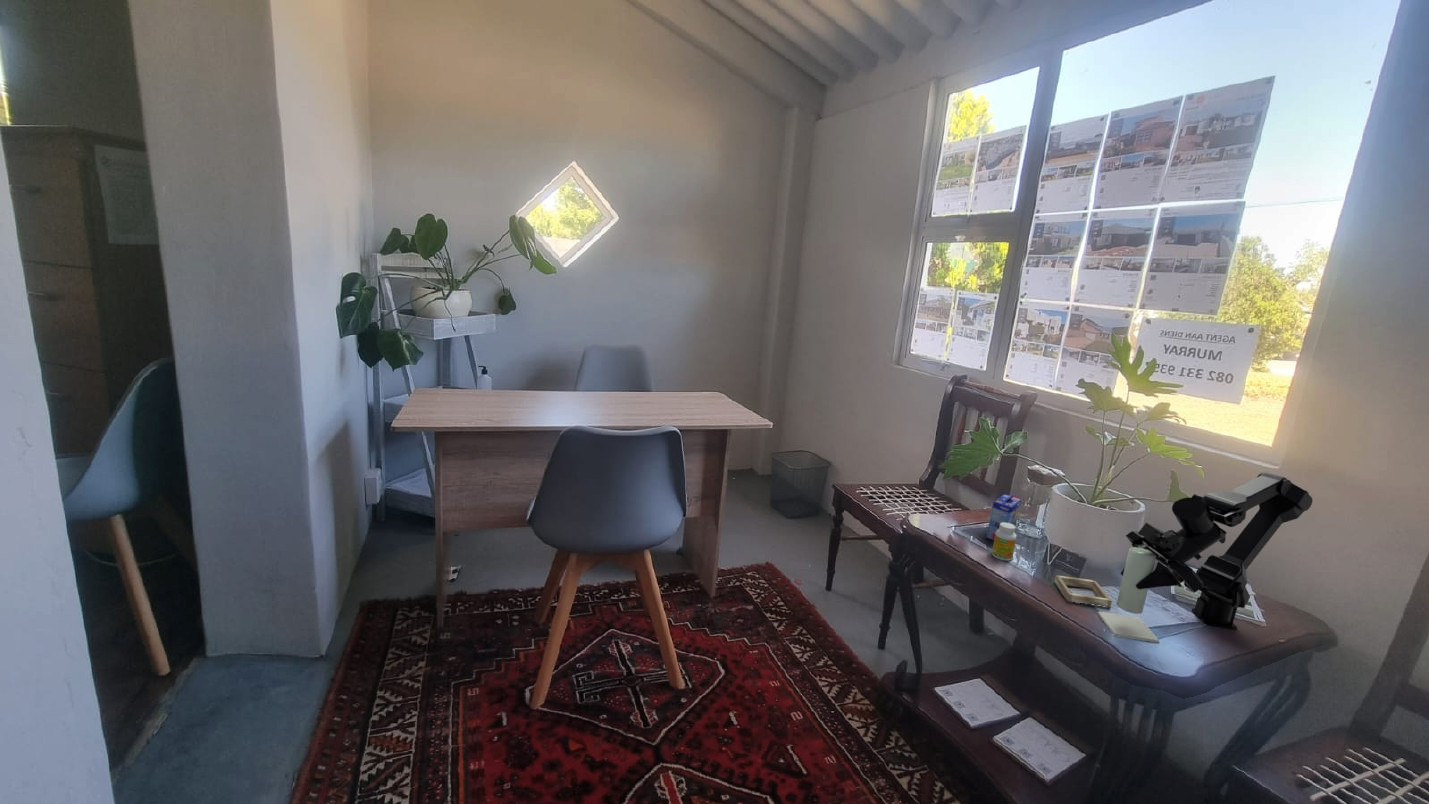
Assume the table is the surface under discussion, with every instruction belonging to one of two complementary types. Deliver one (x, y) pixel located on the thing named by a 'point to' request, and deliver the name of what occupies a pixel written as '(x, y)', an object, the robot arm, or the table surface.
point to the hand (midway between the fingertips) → (1129, 581)
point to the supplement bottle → (1004, 542)
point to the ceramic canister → (1135, 580)
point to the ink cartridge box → (1003, 513)
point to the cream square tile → (1127, 627)
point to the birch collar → (1077, 598)
